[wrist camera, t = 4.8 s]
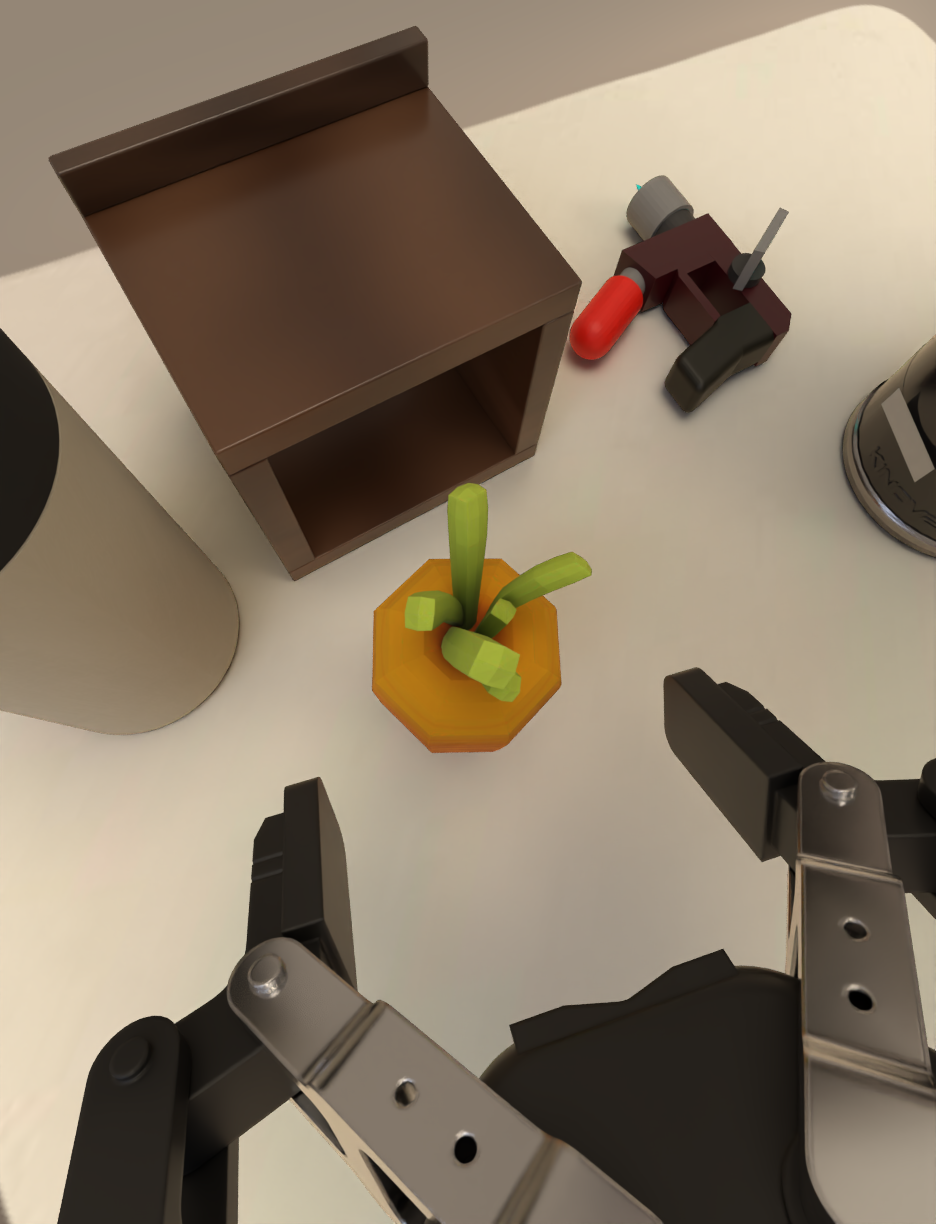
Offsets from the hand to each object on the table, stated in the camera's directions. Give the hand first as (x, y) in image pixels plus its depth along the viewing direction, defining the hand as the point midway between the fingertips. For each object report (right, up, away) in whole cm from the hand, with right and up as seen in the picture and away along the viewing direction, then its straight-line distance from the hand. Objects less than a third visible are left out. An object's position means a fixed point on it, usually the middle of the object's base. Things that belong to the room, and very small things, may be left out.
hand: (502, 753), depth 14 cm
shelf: (-5, +11, +15) cm, 19 cm away
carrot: (-1, -1, +11) cm, 11 cm away
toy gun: (+8, +18, +17) cm, 26 cm away
